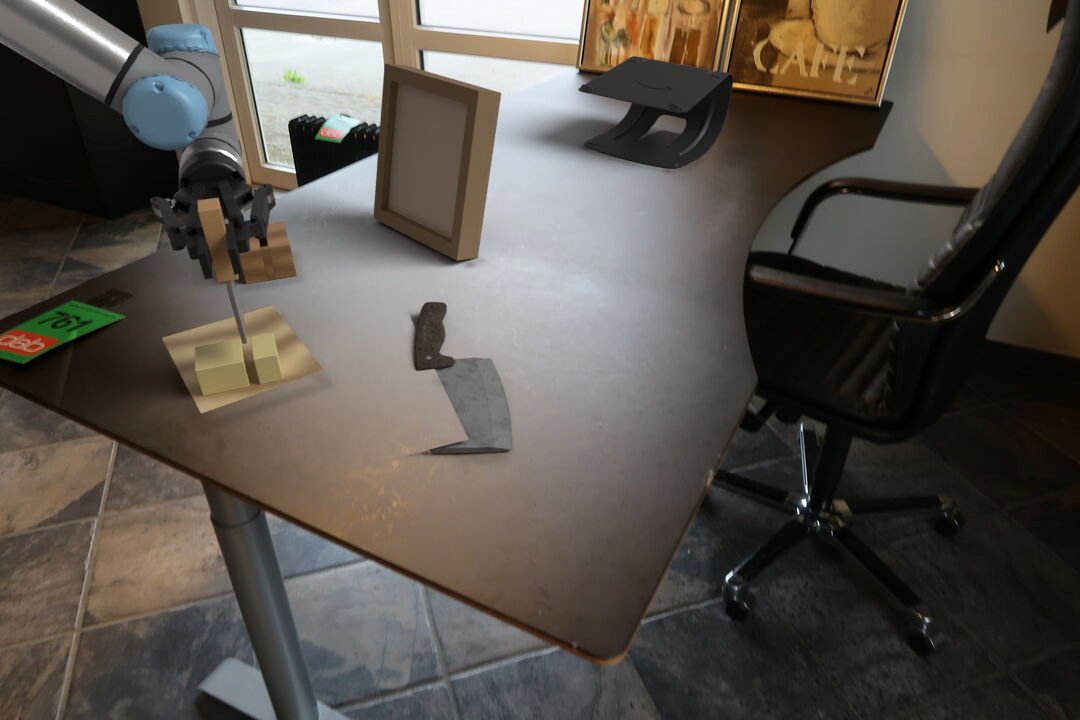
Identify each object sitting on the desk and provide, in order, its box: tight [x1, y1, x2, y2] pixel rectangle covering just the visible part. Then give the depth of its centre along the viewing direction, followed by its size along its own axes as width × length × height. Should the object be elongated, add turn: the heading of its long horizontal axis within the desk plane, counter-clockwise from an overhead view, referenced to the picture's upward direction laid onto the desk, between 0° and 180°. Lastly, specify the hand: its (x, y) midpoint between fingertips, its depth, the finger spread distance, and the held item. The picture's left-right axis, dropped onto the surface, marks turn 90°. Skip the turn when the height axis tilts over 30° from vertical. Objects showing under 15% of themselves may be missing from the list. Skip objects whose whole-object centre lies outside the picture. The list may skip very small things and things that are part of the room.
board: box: [161, 305, 324, 414], centre depth 86 cm, size 18×14×2 cm
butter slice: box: [251, 333, 283, 384], centre depth 82 cm, size 5×2×4 cm, turn 22°
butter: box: [195, 339, 250, 396], centre depth 80 cm, size 5×5×4 cm
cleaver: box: [414, 301, 513, 454], centre depth 84 cm, size 29×10×2 cm, turn 13°
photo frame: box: [372, 62, 502, 262], centre depth 111 cm, size 15×22×25 cm
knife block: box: [240, 221, 297, 285], centre depth 105 cm, size 9×7×5 cm
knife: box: [198, 198, 247, 344], centre depth 75 cm, size 6×2×15 cm, turn 22°
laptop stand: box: [578, 55, 734, 169], centre depth 151 cm, size 26×24×16 cm
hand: (220, 264), depth 68 cm, fingers closed on knife, 2 cm apart
